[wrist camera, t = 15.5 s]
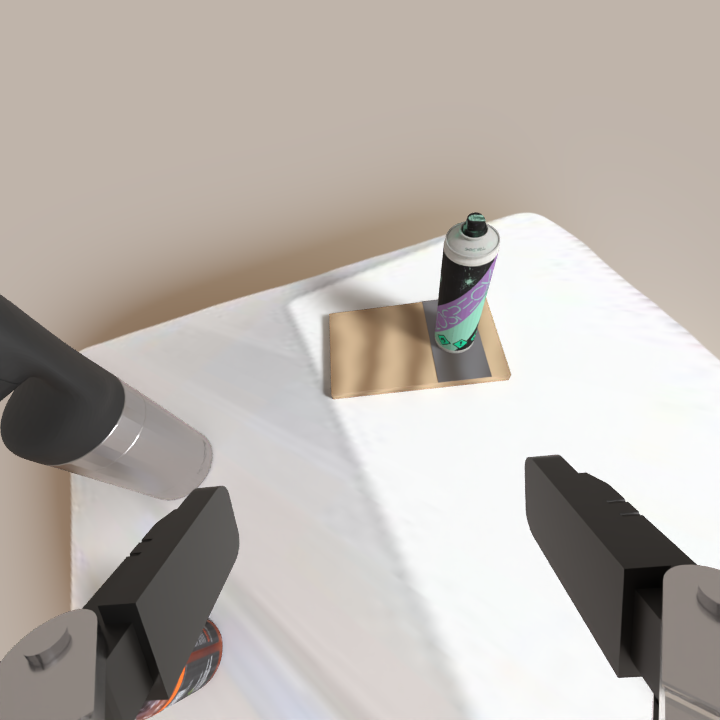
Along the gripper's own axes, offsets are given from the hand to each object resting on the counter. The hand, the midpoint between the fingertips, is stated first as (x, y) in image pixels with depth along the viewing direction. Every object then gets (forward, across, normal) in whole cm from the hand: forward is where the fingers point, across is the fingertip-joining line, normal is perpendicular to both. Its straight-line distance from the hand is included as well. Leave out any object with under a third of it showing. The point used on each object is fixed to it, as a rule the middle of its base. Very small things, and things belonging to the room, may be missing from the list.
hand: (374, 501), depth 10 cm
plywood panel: (+43, -5, +6) cm, 44 cm away
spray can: (+42, -11, +5) cm, 44 cm away
